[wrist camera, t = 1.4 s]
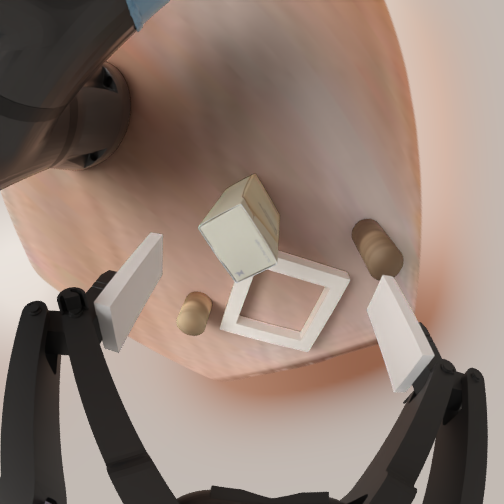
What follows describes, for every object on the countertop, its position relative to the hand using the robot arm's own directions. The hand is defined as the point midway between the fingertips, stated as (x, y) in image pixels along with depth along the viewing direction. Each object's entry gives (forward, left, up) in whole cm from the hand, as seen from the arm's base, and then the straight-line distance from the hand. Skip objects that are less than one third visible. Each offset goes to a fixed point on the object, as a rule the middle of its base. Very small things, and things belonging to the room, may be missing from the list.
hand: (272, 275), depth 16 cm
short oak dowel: (-5, -19, -19) cm, 28 cm away
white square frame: (+6, -14, -19) cm, 25 cm away
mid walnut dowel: (+13, -1, -19) cm, 23 cm away
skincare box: (-2, -2, -19) cm, 20 cm away
